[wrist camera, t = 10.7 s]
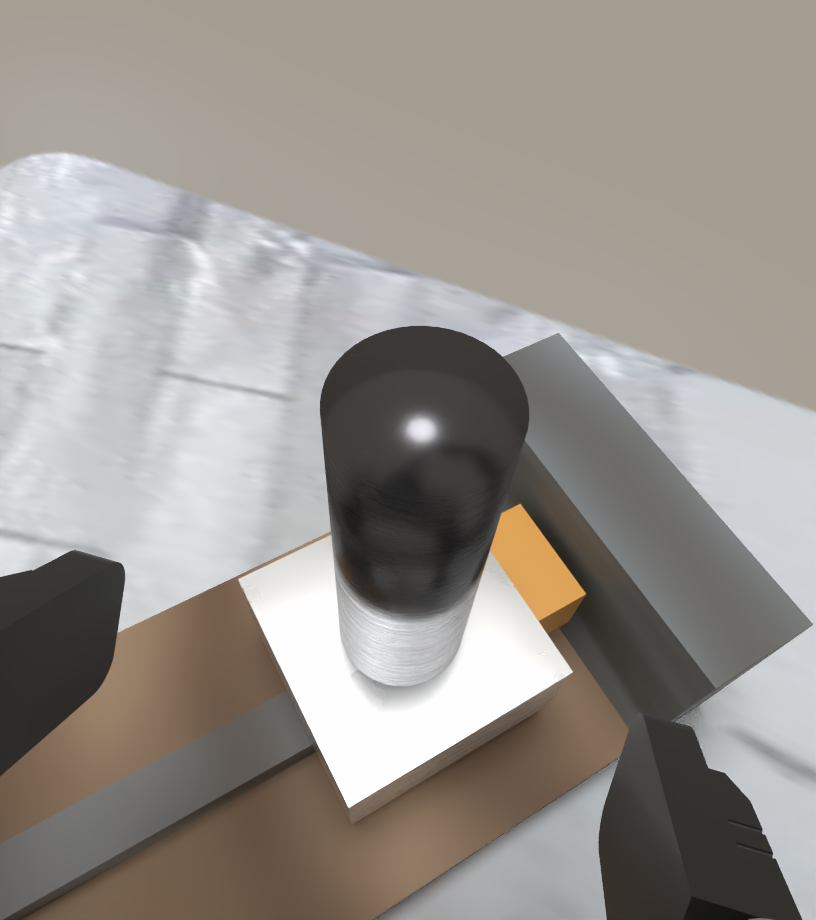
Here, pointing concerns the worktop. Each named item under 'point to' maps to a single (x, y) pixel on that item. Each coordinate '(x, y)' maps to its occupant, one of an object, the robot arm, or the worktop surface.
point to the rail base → (292, 753)
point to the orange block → (535, 569)
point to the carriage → (408, 570)
